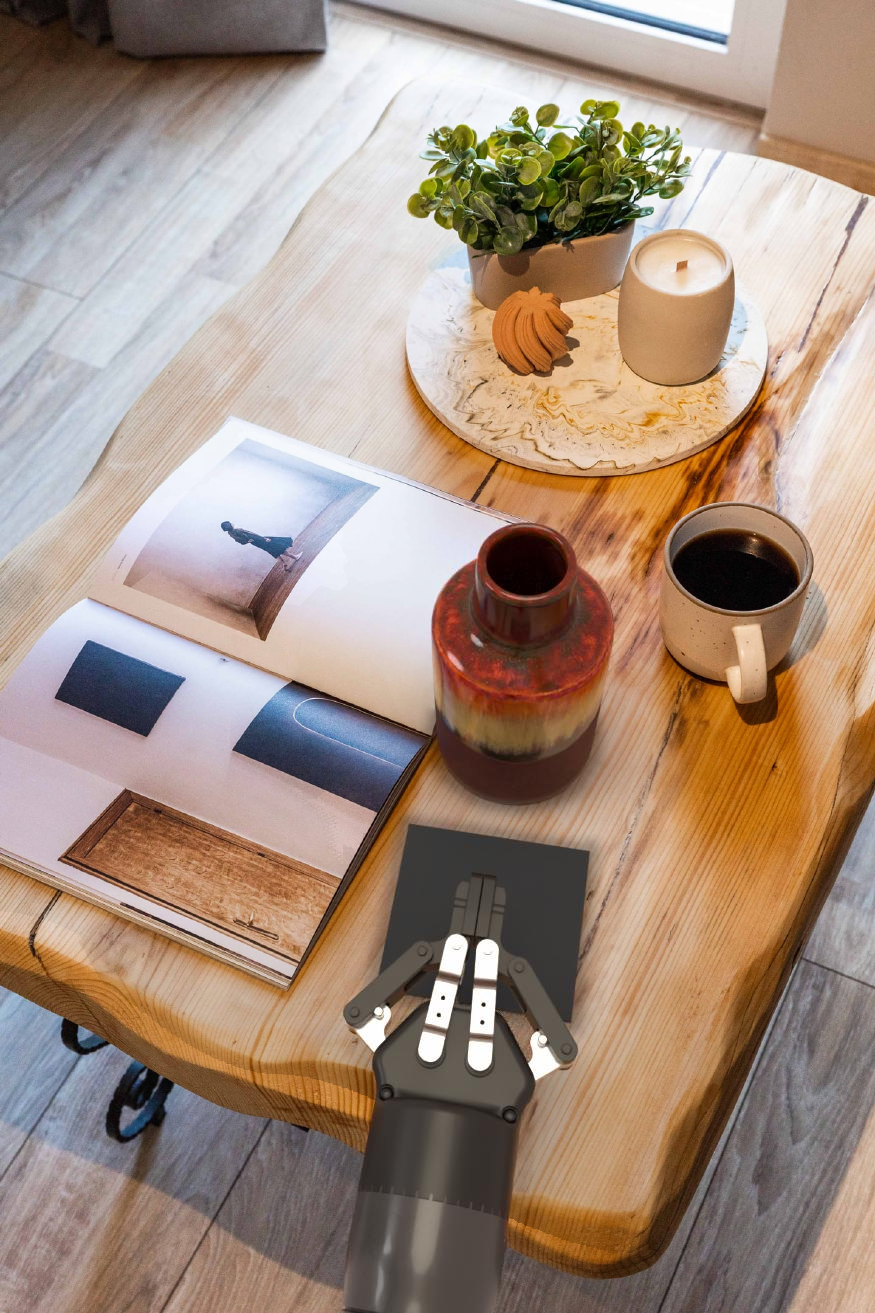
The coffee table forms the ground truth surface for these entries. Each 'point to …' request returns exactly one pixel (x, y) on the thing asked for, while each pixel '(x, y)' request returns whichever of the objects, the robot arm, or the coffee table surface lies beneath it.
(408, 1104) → the robot arm
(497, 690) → the vase
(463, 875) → the coaster
